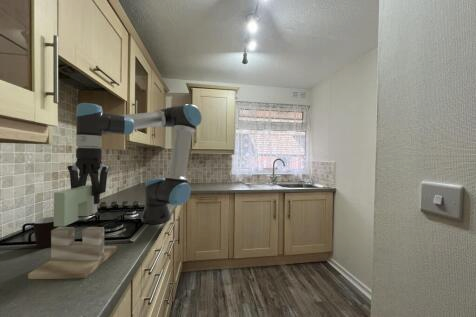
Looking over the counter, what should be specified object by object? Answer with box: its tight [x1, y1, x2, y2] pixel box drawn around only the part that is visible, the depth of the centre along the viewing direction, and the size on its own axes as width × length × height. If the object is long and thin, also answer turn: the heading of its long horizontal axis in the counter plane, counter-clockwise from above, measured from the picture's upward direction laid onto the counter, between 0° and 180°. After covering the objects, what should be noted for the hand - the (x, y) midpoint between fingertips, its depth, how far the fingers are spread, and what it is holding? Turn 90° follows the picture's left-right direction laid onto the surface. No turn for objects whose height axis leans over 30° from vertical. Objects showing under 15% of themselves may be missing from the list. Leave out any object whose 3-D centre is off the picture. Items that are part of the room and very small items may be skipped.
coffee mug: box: [32, 216, 62, 249], centre depth 85 cm, size 12×9×10 cm
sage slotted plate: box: [53, 184, 93, 227], centre depth 70 cm, size 16×3×10 cm, turn 3°
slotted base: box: [27, 226, 118, 280], centre depth 71 cm, size 18×16×12 cm
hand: (88, 212), depth 76 cm, fingers closed on sage slotted plate, 3 cm apart
